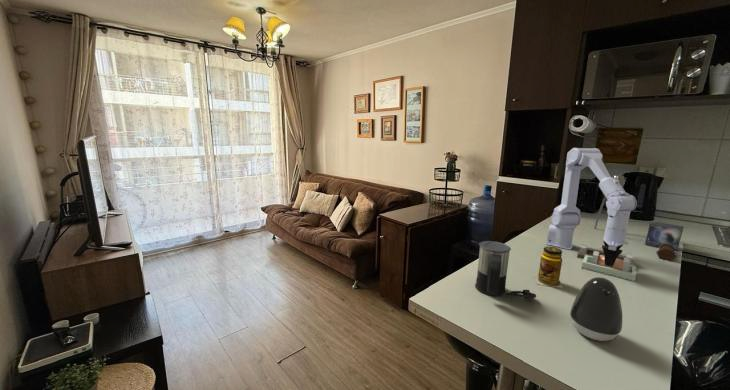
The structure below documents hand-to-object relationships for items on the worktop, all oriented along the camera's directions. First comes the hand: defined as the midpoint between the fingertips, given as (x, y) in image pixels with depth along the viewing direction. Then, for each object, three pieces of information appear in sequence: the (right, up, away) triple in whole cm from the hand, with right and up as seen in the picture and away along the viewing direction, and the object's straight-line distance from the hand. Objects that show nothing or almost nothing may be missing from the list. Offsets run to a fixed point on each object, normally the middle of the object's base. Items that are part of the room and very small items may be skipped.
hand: (609, 263), depth 109 cm
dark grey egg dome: (-33, -10, -34) cm, 49 cm away
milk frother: (-47, -6, -16) cm, 50 cm away
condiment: (-27, -5, -8) cm, 29 cm away
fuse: (0, -2, +1) cm, 3 cm away
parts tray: (0, -3, +1) cm, 3 cm away
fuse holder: (+7, -1, +10) cm, 12 cm away
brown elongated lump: (+37, -1, +15) cm, 40 cm away
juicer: (+34, +5, +42) cm, 55 cm away
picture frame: (+44, +1, +25) cm, 51 cm away
